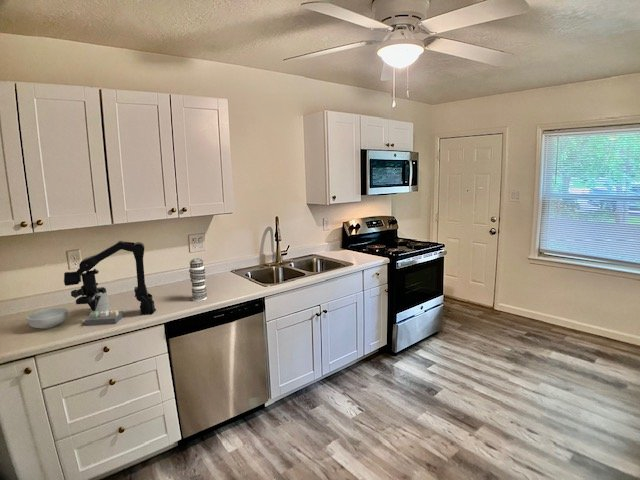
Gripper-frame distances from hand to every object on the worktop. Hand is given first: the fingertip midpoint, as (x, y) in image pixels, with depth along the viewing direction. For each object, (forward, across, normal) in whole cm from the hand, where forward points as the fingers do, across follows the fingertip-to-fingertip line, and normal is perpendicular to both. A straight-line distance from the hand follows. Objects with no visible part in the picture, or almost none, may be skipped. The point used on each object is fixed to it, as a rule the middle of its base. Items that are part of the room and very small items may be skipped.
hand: (94, 310), depth 188 cm
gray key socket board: (+6, 0, +5) cm, 8 cm away
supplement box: (+6, -16, -5) cm, 17 cm away
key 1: (+4, 0, 0) cm, 4 cm away
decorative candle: (+6, -26, +48) cm, 55 cm away
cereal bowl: (+6, +2, -22) cm, 23 cm away
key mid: (+3, 0, +5) cm, 6 cm away
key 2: (+3, 0, +10) cm, 11 cm away
